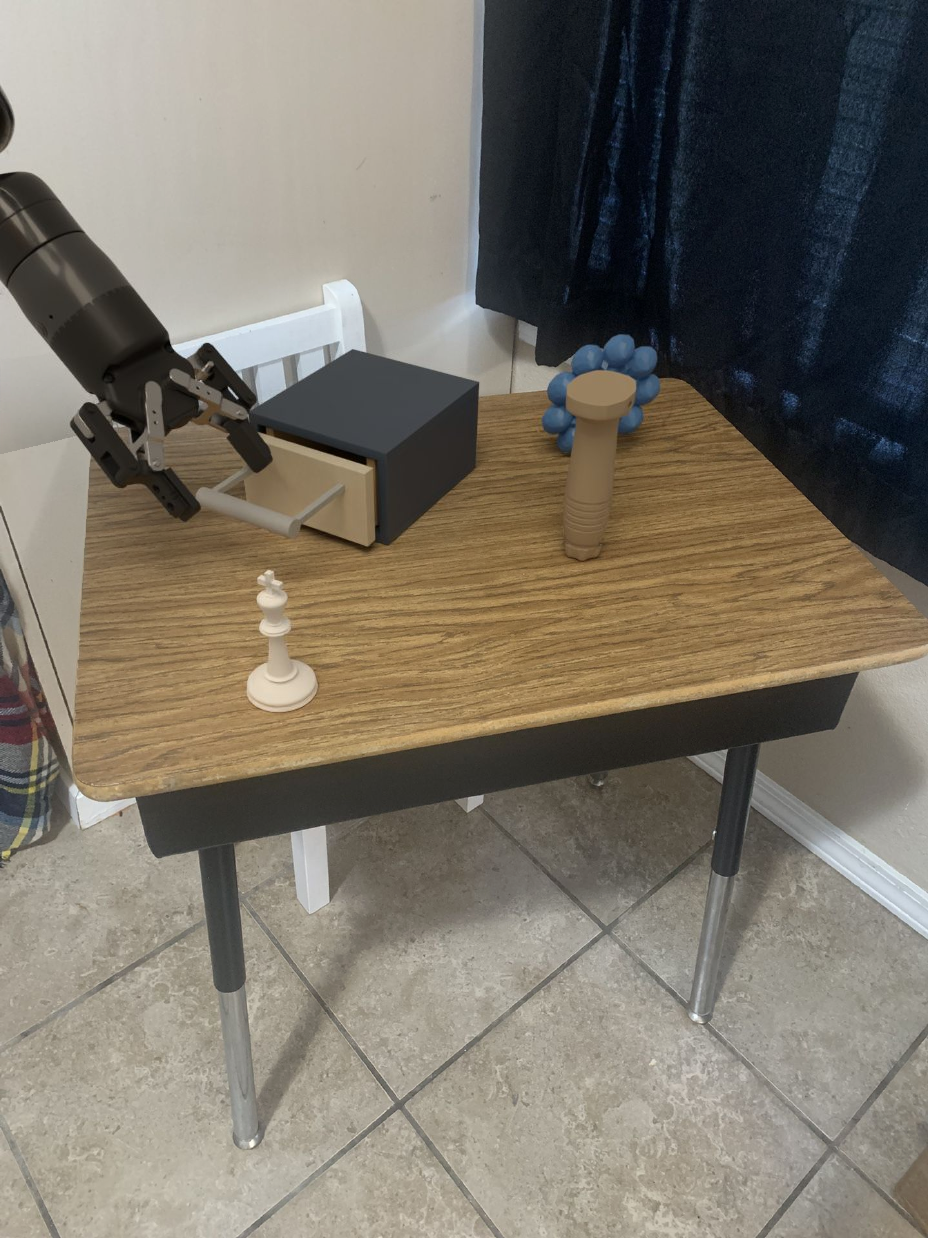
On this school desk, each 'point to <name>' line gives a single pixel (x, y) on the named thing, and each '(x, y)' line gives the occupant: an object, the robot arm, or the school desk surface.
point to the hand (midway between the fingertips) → (230, 490)
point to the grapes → (613, 358)
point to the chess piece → (278, 657)
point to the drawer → (303, 490)
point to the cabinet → (386, 427)
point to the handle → (593, 457)
